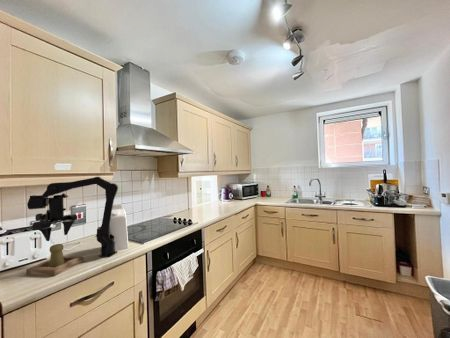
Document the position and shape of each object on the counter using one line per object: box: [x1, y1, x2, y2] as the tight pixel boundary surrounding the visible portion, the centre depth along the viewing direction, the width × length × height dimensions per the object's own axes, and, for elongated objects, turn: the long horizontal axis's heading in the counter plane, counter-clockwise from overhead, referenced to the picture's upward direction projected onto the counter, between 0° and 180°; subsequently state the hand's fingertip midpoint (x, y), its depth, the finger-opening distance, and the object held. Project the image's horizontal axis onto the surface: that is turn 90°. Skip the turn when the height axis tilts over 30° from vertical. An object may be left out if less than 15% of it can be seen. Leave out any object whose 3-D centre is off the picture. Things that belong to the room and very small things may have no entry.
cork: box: [49, 243, 64, 268], centre depth 97 cm, size 6×6×11 cm
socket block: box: [25, 255, 84, 277], centre depth 97 cm, size 15×15×2 cm
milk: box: [110, 203, 129, 251], centre depth 122 cm, size 12×12×26 cm
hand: (57, 237), depth 101 cm, fingers open, 9 cm apart
